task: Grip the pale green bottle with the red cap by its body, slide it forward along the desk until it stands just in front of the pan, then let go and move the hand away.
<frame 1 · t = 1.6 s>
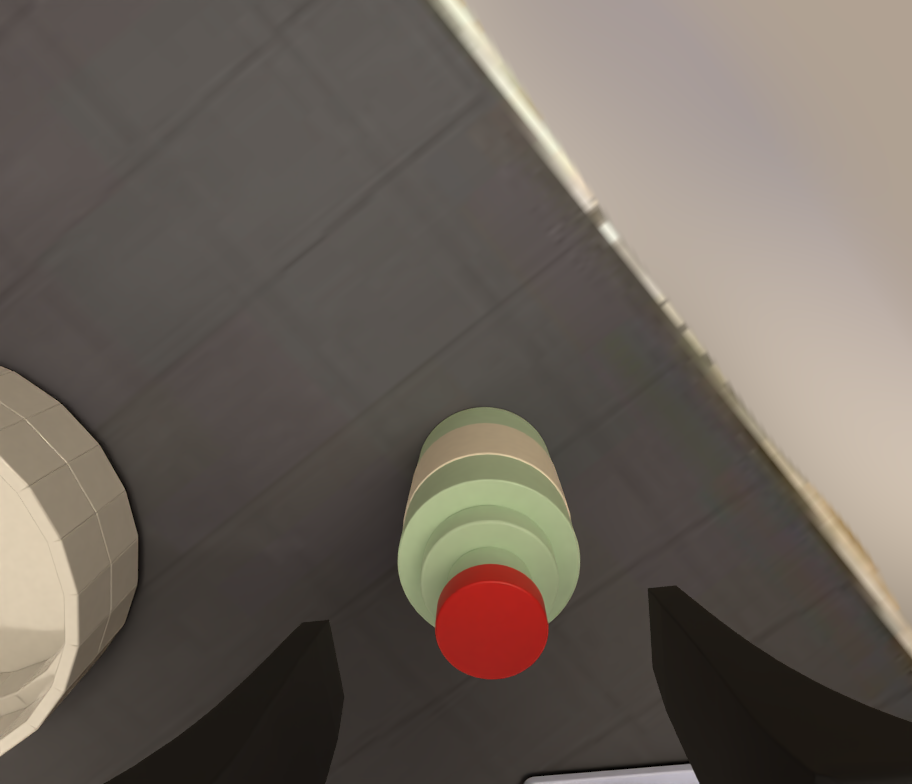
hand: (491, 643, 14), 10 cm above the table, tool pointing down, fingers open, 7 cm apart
bottle: (484, 470, 24), on the table
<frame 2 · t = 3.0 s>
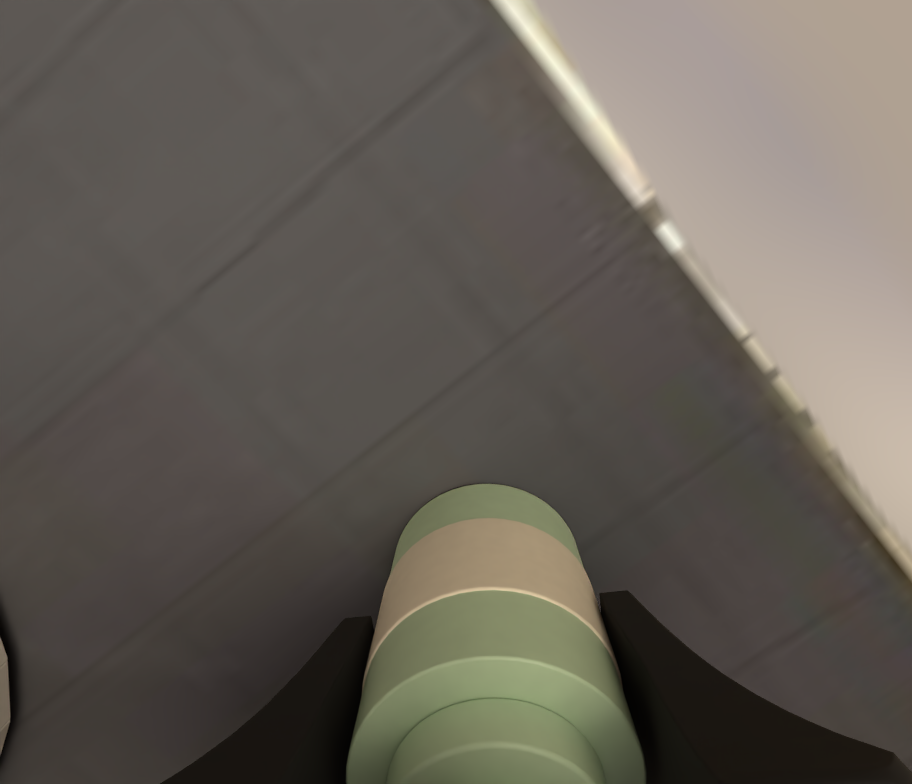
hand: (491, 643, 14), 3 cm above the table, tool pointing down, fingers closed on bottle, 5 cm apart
bottle: (486, 569, 18), on the table, touching gripper
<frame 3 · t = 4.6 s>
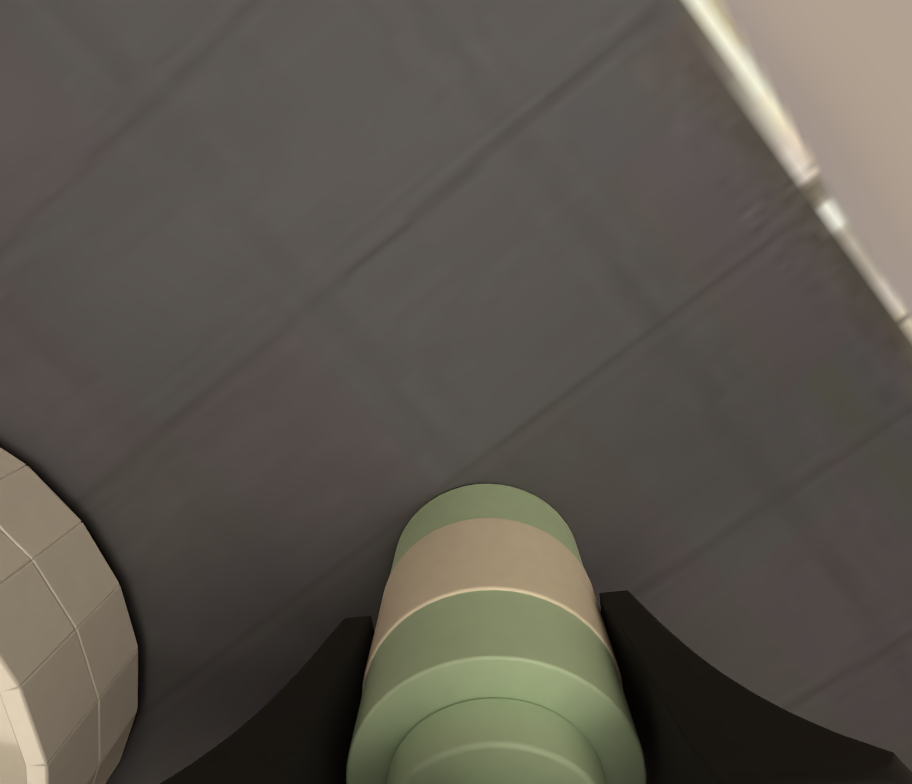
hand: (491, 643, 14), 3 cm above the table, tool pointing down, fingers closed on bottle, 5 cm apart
bottle: (486, 569, 18), on the table, touching gripper
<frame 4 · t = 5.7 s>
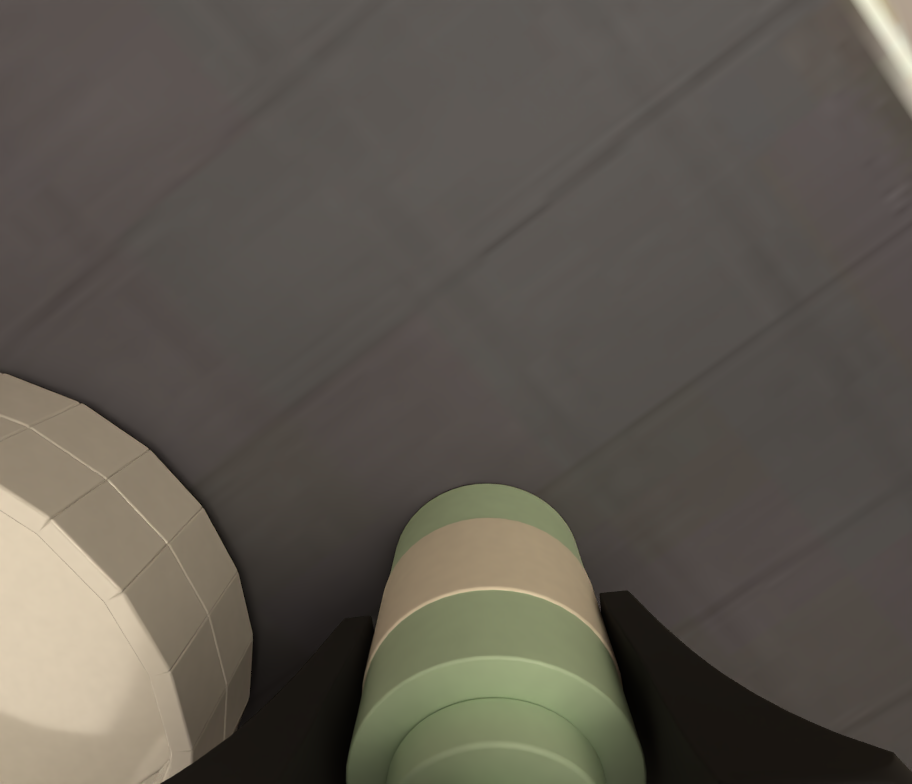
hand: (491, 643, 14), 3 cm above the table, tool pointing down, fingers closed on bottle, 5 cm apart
bottle: (486, 568, 18), on the table, touching gripper
when the fingers open (3 cm above the table, at t = 6.3 s): bottle stays where it is, on the table.
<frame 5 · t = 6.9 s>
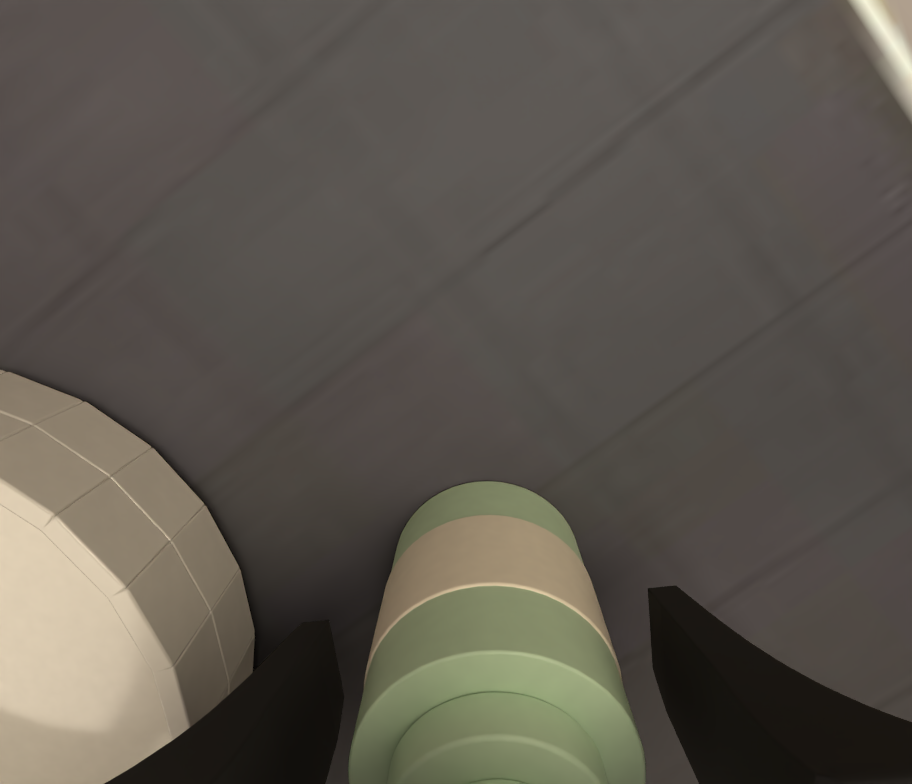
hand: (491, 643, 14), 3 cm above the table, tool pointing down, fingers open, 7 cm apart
bottle: (486, 566, 18), on the table
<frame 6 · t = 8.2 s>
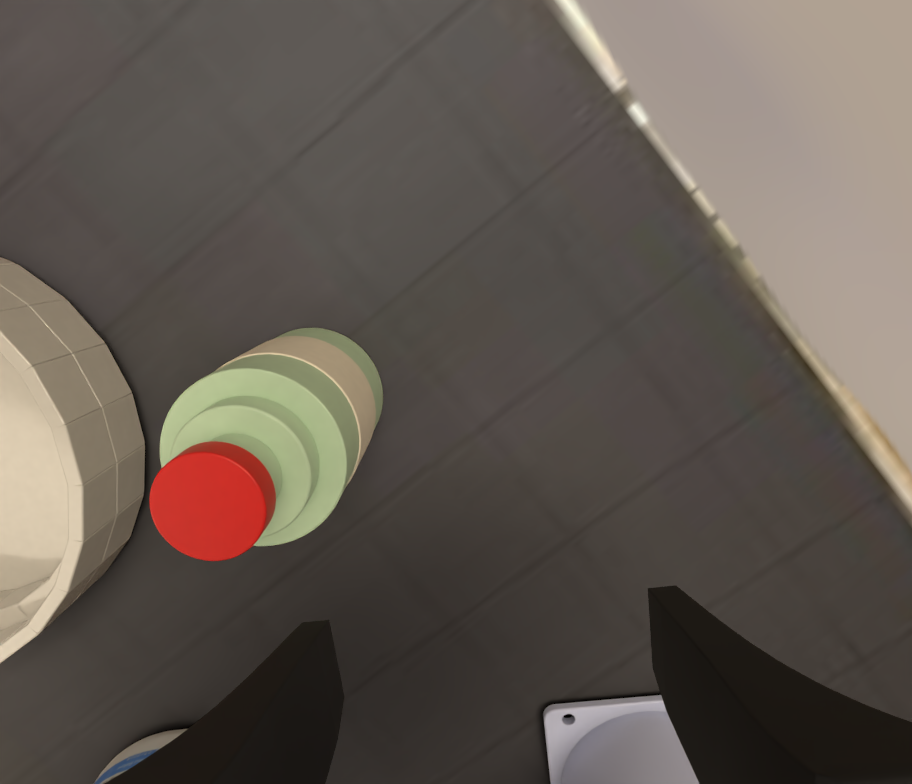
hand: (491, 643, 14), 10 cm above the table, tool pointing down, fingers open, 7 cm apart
bottle: (315, 394, 24), on the table
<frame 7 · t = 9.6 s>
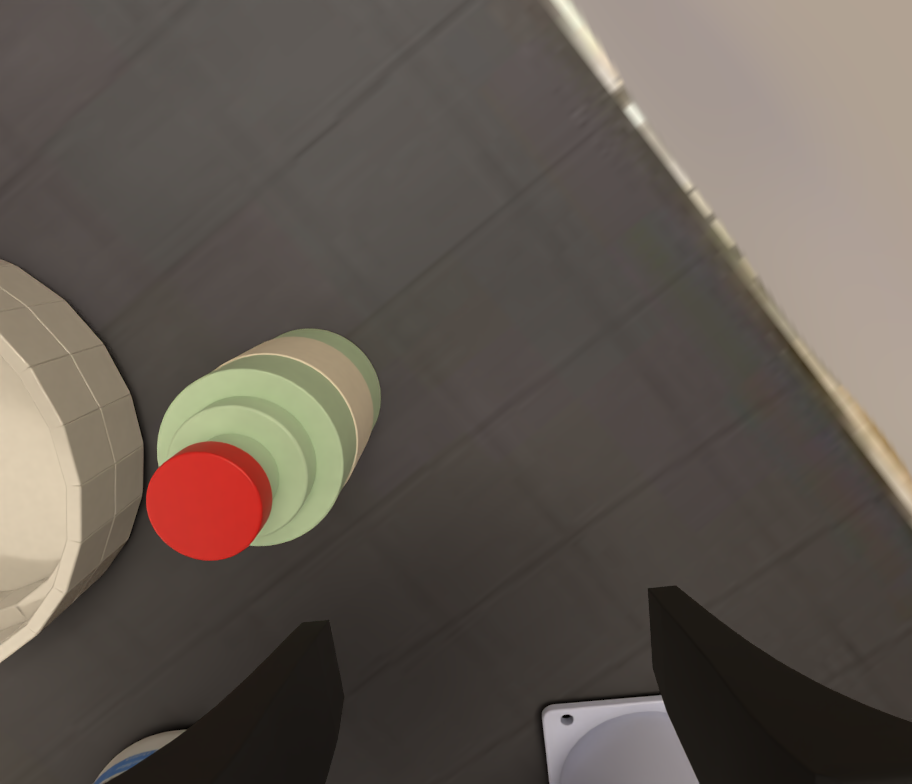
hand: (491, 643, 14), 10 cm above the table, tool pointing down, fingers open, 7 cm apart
bottle: (313, 395, 24), on the table
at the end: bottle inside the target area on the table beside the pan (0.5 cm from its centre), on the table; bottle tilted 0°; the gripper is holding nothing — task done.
